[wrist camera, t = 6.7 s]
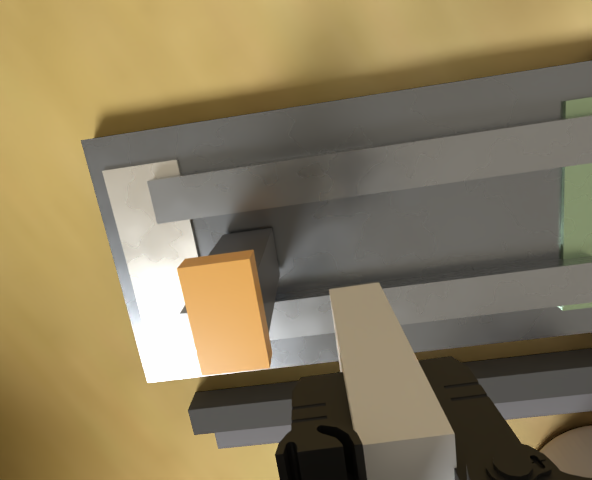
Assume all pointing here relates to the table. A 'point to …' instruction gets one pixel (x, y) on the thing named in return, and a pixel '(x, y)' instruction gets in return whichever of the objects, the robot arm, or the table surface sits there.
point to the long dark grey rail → (490, 373)
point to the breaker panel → (368, 213)
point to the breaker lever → (232, 301)
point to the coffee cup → (572, 451)
